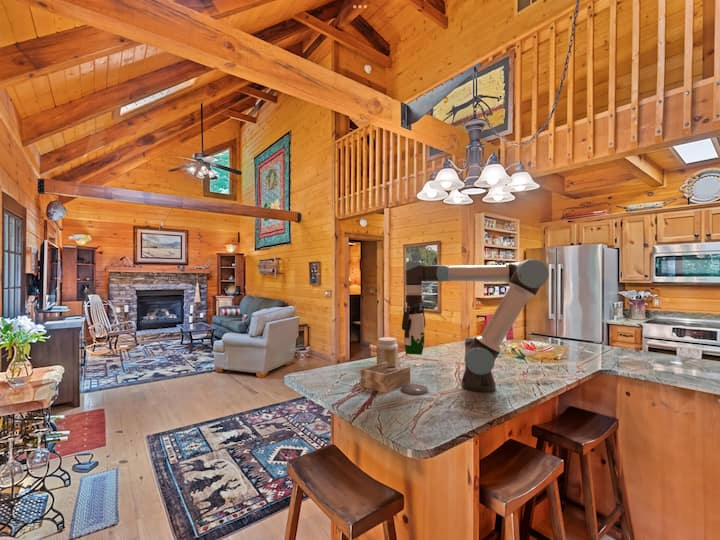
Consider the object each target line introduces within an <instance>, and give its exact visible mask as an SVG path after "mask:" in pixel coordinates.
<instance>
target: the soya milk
mask: <svg viewBox="0 0 720 540" xmlns="http://www.w3.org/2000/svg"><path fill="white" fill-rule="evenodd" d="M409 319H411V327H410V331H411V345H405V344H404V351H405V354H406V355H421V356H422V355H423V350H424V345H425V328H424V317H423V313H421V314H417V313H416V314H414V315H412V314H410V313H409ZM403 332H404V337H403V339H404V343H405V330H403Z"/></svg>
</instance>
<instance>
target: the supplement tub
mask: <svg viewBox="0 0 720 540" xmlns="http://www.w3.org/2000/svg"><path fill="white" fill-rule="evenodd" d="M377 342H378V343H377V344H376V365H377V364H380V363H383V362H387V372H394V371H397V370H399V344H398V343H397V342H398V341H397V338H396V337H389V336H386V337H385V336H384V337H378V340H377Z"/></svg>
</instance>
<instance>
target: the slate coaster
mask: <svg viewBox="0 0 720 540" xmlns="http://www.w3.org/2000/svg"><path fill="white" fill-rule="evenodd" d="M428 390H429V389H428V387H427V386H426V385H422V384H414V383H412V384H411V383H409V384H407V385H404V386H402V387H400V391H401V392H402V393H404V394H407V395H411V396H413V395H414V396H419V395H420V396H421V395H425V394H427V393H428V392H429V391H428Z"/></svg>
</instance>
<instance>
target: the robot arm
mask: <svg viewBox="0 0 720 540" xmlns="http://www.w3.org/2000/svg"><path fill="white" fill-rule="evenodd" d="M404 272H405V294H406V295H405V303H407V306H404V307H403V309H402V310H403V314H402V320H401V321H402V323H401V329H402V331H404V330H405V342H404V346H405V345H411V331H410V327H411V319H409V313H410V314H412V315H414V314H416V313H417V314H421V313H423V317H424V329H425V328H426V325H427V324H426V317H425V306H424V305H421V304H422V303H423V295H422V294H423V282H440V283H442V282H492V283H493V282H499V283H500V282H501V283H505V284H507V285H508V286H509V288H508V289H507V292H506V293H505V295H504V296H503V298H502V299H501V301H500V303H499V304H498V306H497V307H496V309H495V311H494V313H493V315H492V316H491V318H490V319H489V321H488V323H487V324H486V326H485V328H484V329H483V331H482V333H481V334H479V335H476V336H475V337H466V338H465V341H464V349H465V351H464V352H465V354H464V366H465V370H464V373H463V376H462V377H461V387H463V389H466V390H468V391H471V392H472V391H473V392H480V393H488V392H489V393H490V392H493V391H495V390H496V385H497V384H496V381H495V378H494V375H493V373H492V370H493V368H495V362H496V360H497V359H498V357H499V355H500V354H501V350H502V349H501V347H500V346H501V344H502V342H503V341H504V339H505V338H506V337H507V335H508V333H509V331H510V329H511V328H512V326H513V325H514V323H515V322H516V320H517V319H518V316H519V315H520V313H521V312H522V310H523V309H524V307H525V305H526V303H527V302H528V300H529V299H530V298H533V297H535V296H536V295H537V293H538V292H539V291H540V289H541V287H542V286H544V285H545V284H546V283H547V281H548V280H549V276H550V274H549V273H550V271H549V269H548V266H547V265H546V264H545V263H544V262H543V261H541V260H539V259H536V258H527V259H525V260H522V261H518V262H517V261H516V262H507V263H505V264H504V265H503V264H501V265H500V264H499V265H498V264H497V265H496V264H495V265H493V264H492V265H489V264H488V265H487V264H486V265H485V264H484V265H479V264H478V265H447V264H423V262H422V261H421V260H408V261H406V262H405V270H404Z"/></svg>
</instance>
